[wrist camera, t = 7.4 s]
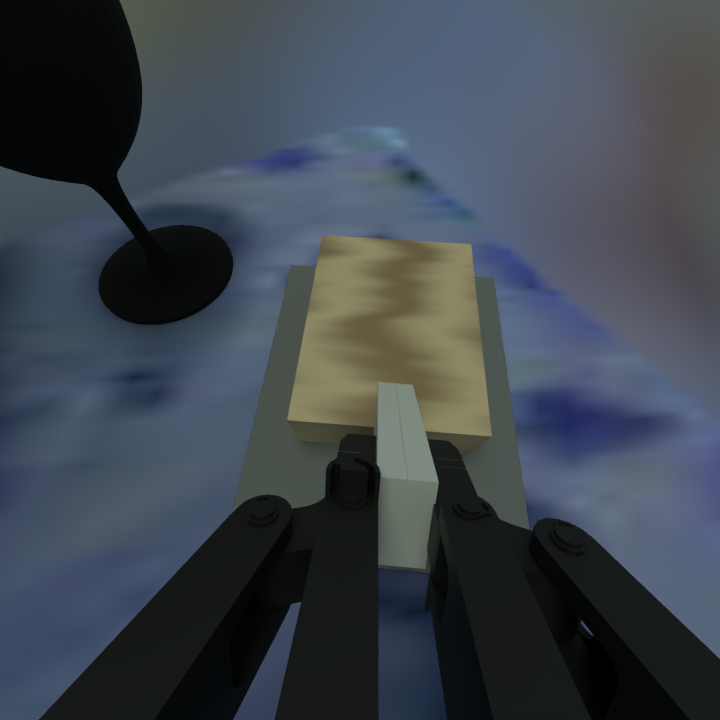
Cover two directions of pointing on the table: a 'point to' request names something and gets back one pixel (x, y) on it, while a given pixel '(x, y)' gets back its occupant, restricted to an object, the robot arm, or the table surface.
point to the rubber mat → (310, 459)
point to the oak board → (391, 340)
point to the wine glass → (97, 146)
